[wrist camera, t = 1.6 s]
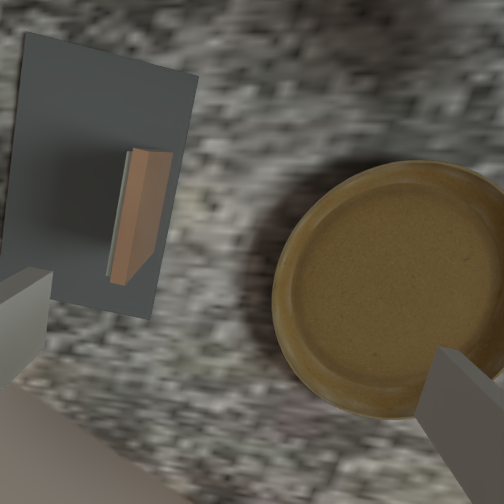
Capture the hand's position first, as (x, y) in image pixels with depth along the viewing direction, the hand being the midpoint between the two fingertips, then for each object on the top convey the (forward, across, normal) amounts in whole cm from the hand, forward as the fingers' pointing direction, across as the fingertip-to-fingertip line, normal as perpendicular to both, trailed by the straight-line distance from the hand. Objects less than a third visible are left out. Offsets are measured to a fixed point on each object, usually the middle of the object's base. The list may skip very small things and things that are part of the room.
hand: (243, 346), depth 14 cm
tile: (+24, -8, 0) cm, 25 cm away
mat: (+25, -13, +1) cm, 28 cm away
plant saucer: (+25, +16, -3) cm, 30 cm away
